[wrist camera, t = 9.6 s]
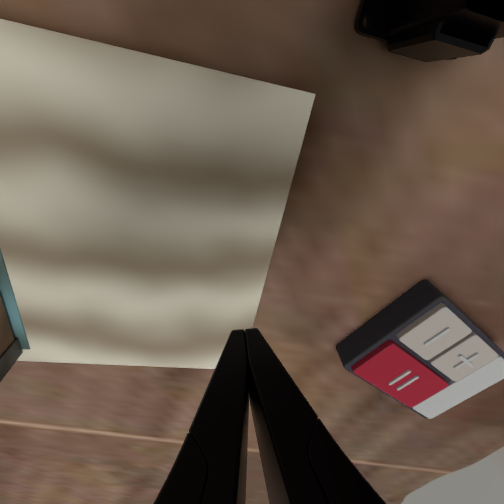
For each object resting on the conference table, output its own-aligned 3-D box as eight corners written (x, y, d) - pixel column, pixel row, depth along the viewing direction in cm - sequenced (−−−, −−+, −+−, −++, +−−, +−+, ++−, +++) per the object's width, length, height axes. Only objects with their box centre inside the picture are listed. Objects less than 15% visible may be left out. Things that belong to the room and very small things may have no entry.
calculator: (450, 300, 22) (527, 374, 27) (418, 271, 25) (491, 341, 31) (344, 375, 25) (431, 427, 30) (330, 339, 29) (409, 391, 34)
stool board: (-192, -24, 12) (-287, -51, 10) (303, 93, 16) (316, 93, 14) (-33, 332, 23) (-61, 358, 20) (239, 347, 27) (241, 370, 24)
